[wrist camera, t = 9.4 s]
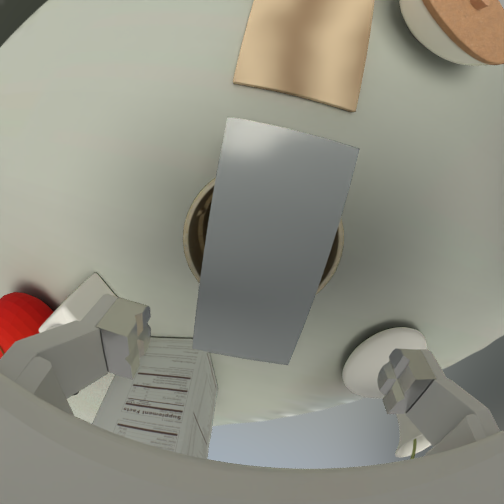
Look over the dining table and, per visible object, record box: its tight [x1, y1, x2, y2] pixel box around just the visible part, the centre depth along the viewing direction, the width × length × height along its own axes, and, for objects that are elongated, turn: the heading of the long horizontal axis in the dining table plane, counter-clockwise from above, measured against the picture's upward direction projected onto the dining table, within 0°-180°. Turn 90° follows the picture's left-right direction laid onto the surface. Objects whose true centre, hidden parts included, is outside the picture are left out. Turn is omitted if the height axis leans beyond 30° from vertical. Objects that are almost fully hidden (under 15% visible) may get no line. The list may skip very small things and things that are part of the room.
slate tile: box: [192, 117, 359, 365], centre depth 15 cm, size 6×13×2 cm, turn 168°
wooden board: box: [233, 0, 374, 112], centre depth 16 cm, size 10×16×1 cm, turn 168°
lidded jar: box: [399, 0, 504, 66], centre depth 11 cm, size 11×11×9 cm
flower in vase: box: [342, 327, 431, 459], centre depth 19 cm, size 13×11×25 cm
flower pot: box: [183, 178, 344, 294], centre depth 20 cm, size 9×9×9 cm
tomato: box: [0, 292, 53, 359], centre depth 26 cm, size 14×13×10 cm
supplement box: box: [92, 337, 218, 459], centre depth 24 cm, size 10×9×17 cm
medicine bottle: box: [39, 273, 116, 396], centre depth 23 cm, size 7×7×12 cm
